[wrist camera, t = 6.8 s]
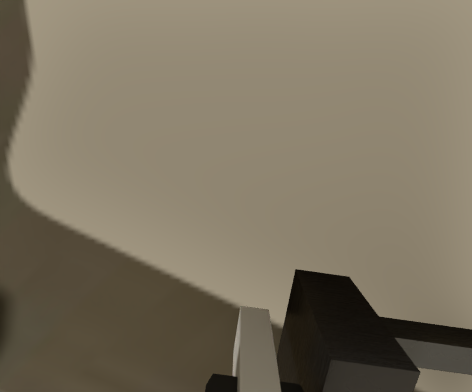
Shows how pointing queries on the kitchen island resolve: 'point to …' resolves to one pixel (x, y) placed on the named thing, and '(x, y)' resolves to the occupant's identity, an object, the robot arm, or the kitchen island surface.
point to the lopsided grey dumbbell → (359, 341)
